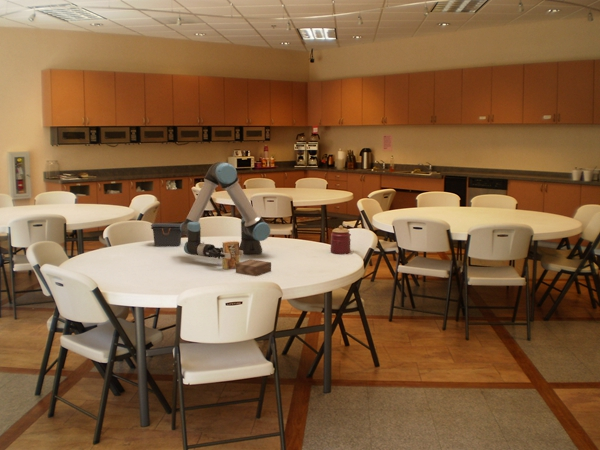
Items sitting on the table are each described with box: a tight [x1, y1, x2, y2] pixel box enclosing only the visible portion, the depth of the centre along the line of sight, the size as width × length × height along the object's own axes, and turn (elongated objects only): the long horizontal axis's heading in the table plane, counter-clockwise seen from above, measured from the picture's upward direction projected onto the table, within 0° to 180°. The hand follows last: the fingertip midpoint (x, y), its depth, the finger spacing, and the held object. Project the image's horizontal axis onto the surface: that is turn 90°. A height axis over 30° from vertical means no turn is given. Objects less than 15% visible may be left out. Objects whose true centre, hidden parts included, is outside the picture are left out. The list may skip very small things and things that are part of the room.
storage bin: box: [150, 222, 183, 247], centre depth 423 cm, size 21×16×14 cm
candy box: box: [222, 240, 240, 270], centre depth 357 cm, size 9×4×15 cm, turn 116°
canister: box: [330, 225, 352, 255], centre depth 405 cm, size 13×13×18 cm
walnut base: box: [235, 259, 272, 277], centre depth 349 cm, size 14×14×5 cm
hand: (236, 254), depth 355 cm, fingers open, 11 cm apart
